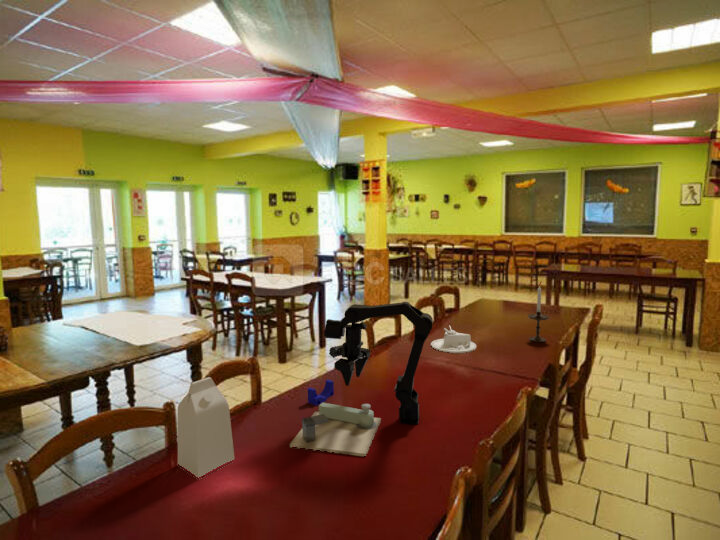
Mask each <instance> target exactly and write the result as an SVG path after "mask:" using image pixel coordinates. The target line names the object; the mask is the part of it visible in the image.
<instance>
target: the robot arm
mask: <svg viewBox="0 0 720 540" xmlns="http://www.w3.org/2000/svg"><path fill="white" fill-rule="evenodd" d="M399 315H400V316H401V315H403V316H404V317H405V318H406V319H407V320H408V321H409V322H410V323H411V324H412V325H413V326H415V327H414V339H413V342H412V347H411V349H410V352H409V356H408V359H407V363H406V366H405V370H404V373H403V374H402V375H401V374H398V377H397V381H396V383H395V386H394V390H393V391H394V392H395V393H394V395H395V396H394V397H395V398H396V400H397V401H399V402H400V405H399V407H398V418H399V423H401V424H411V425H418V424H419V421H420V418H419V417H420V402H419V401H418V400H419V393H418V392H417V391H416V390H415V389H414V382H415V381H414V380H415V375H416V371H417V369H418V364H419V361H420V359H421V358H420V357H421V354H422V351H423V347H424V344H425V342H426V340H428V337H429V335H430V334H431V331H432V329H433V323H434V320H433V317H432V315H430V314H429V313H427V312H426V313H425V312H423V311H421V309H419V308H417V307H415V306H414V305H412V304H411V303H410V302H409V301H402V302H394V303H387V304H386V303H384V304H378V305H366V304H358V303H357V304H355V303H353V304H351V305H350V306H348V308H347V309H346V310H345V311H344V317H342V318H341V319H340V320H336V319H329V318H328V319H326V321H325V322H326V323H325V327H324V331H323V333H324V338H325V339H333V340H336V339H337V340H341V339H342V337H345V342H343V343H342V344H339V345H337V346H336V345H334V346H331V347H330V348H329V353H328V354H329V356H330V357H332V358H333V359H334V358H337V357H340V356H341V357H340V358H339V359H338V360H336V361H335V362H334V365H333V367H334V369H335V370H336V371H339V372H340V373H341V375H342V378H343V382H344V384H345V386H346V387H349V385H350V383H351V380H352V377H353V375H354V371H355V376H356V378H360V376H361V375H362V372H363V371H364V368H365V366H366V364H367V362H368V360H369V358H370V357H371V351H370V349H369V348H365V347H362V346H363V345H364V341H362V330H366V329H367V328H368V325H367V324H366V323H365V322H364V321H365V320H369V319H371V318H372V319H373V318H380V317H390V316H399Z"/></svg>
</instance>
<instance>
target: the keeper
mask: <svg viewBox="0 0 720 540" xmlns="http://www.w3.org/2000/svg"><path fill="white" fill-rule="evenodd" d="M311 416H312V415H311ZM311 416H307V417H302V418H301V426H302V427H301V429H303V438H304V440H305V441H306V443H308V442H312V441H316V440H315V425H318V424H323V423H327V422H328V418H327V417H326V416H325V415H324V414H321V415H316V416H312V417H311Z"/></svg>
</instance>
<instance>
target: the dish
mask: <svg viewBox="0 0 720 540" xmlns="http://www.w3.org/2000/svg"><path fill="white" fill-rule="evenodd" d="M448 326H449V330H448V329H447V328H446V327H444V328H443V330H444V331H445V333H444V335H443V338H438V339H434V340H433V341H431V343H430V347H431V346H432V347H431V349H433V348H434V350H435V349H436V351H438V350H439V352H442V351H443V353H447V352H449V353H448V354H465V353H466V352H467V353H472V352H473V350H474V351H475V350H476V349H477V344H476V343H475V342H473V341H472V340H471V334H468V333H461V332H457V331H456V330H454V329H452V327H451V325H450V324H449V325H448Z"/></svg>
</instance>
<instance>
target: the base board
mask: <svg viewBox="0 0 720 540" xmlns="http://www.w3.org/2000/svg"><path fill="white" fill-rule="evenodd" d="M316 415H319V411H314V412H313V414H312V415H311V416H310V417H312V416H316ZM381 421H382V418H381V417H374V424H373V425H372V426H370V427H362V426H360V425H359V424H355V423H350V422H345V421H340V420H335V419H330V418H328V422H327V423H323V424H318V425H315V440H316V441H312V442H308V443H306V441H305V440H304V438H303V429H302V428H301V429H300V430H299V432H298V433H297V434H296V436H295V437H294V438H293V439H292V441H290V443H289V448H292V447H297V448H296V449H300V448H305V449H304V450H308V449H313V450H312V451H316V450H320V451H319V452H324V451H327V452H326V453H332V452H334V454H340V453H341V454H342V455H348V454H349V455H350V456H355V457H364V456H366V457H367V455H366V454H368V452H369V450H370V448H369V447H371V445H372V442H373V441H372V440H374V437H375V435H376V434H377V431H378V428H379V427H380V424H381ZM378 426H379V427H378ZM375 433H376V434H375ZM341 454H340V455H341ZM349 455H348V456H349Z"/></svg>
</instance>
